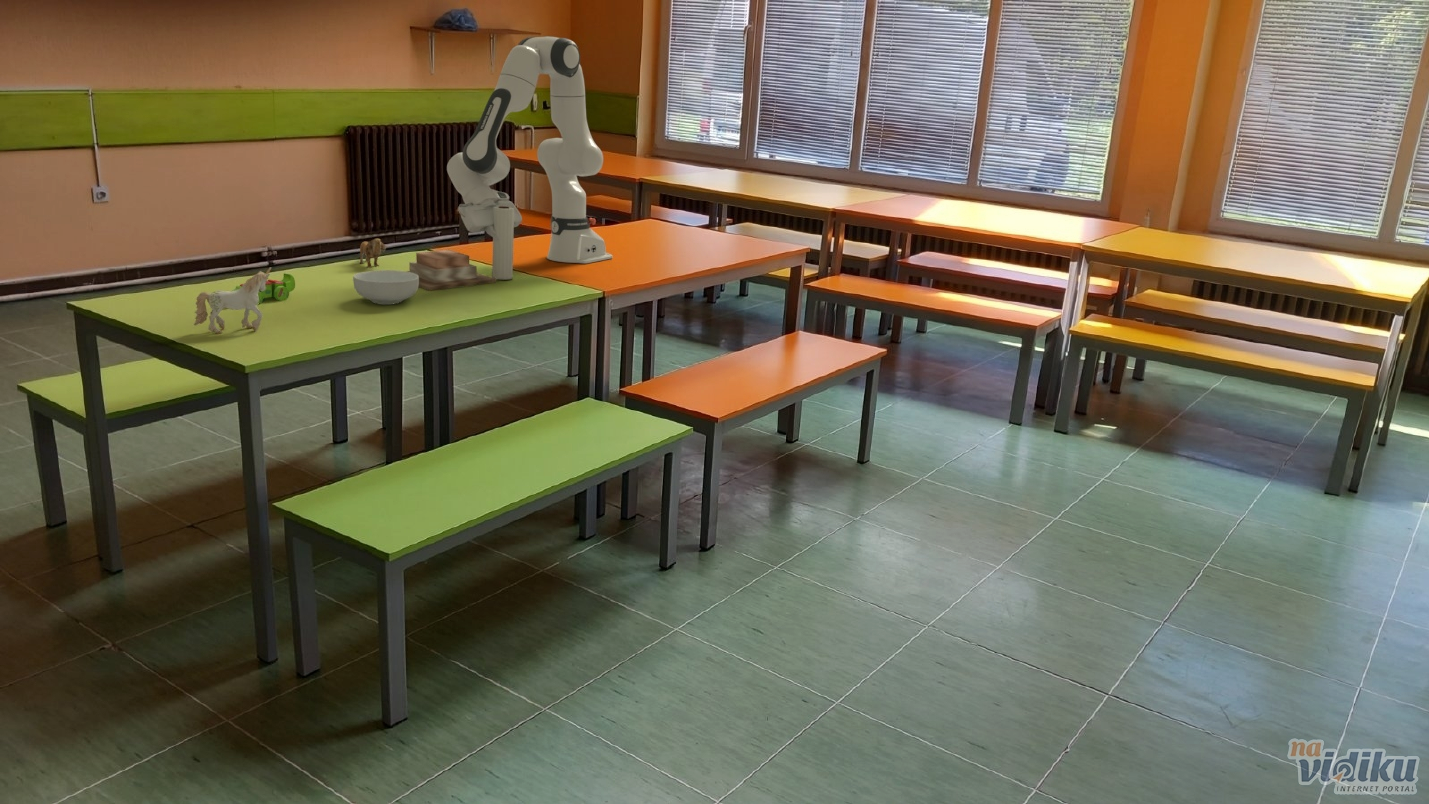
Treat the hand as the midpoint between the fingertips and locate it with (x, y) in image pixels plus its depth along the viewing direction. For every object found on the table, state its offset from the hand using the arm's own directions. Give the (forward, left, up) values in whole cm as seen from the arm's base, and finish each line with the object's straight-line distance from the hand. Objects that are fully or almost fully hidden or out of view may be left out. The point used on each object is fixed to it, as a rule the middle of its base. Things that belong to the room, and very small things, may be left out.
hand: (505, 239), depth 313 cm
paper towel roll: (0, -1, -12) cm, 12 cm away
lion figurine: (+24, -37, -12) cm, 46 cm away
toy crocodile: (+70, -10, -12) cm, 71 cm away
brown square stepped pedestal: (+16, -9, -12) cm, 22 cm away
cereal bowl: (+43, +7, -12) cm, 45 cm away
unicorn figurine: (+85, +13, -12) cm, 87 cm away
